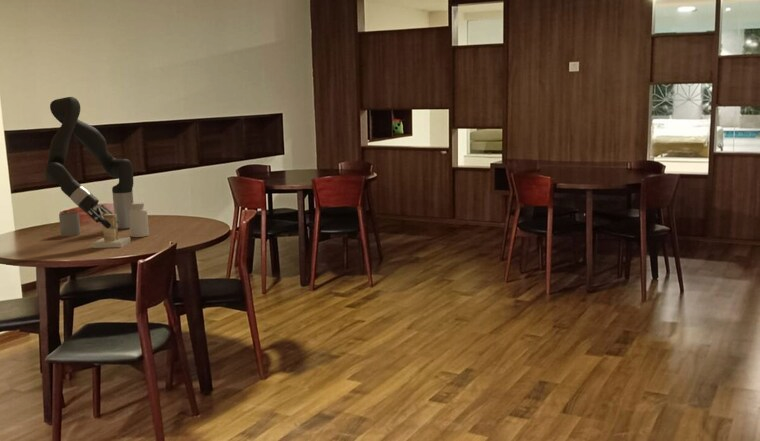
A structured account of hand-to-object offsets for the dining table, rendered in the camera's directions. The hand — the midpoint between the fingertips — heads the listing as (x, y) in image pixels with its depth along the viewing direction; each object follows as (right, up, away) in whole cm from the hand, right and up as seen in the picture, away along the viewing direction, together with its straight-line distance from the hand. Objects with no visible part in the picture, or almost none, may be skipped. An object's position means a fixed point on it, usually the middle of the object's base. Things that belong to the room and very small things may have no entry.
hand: (113, 225), depth 322 cm
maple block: (-1, -6, +1) cm, 7 cm away
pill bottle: (+5, -5, +21) cm, 22 cm away
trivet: (-1, -8, +1) cm, 9 cm away
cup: (-30, -5, +29) cm, 42 cm away
